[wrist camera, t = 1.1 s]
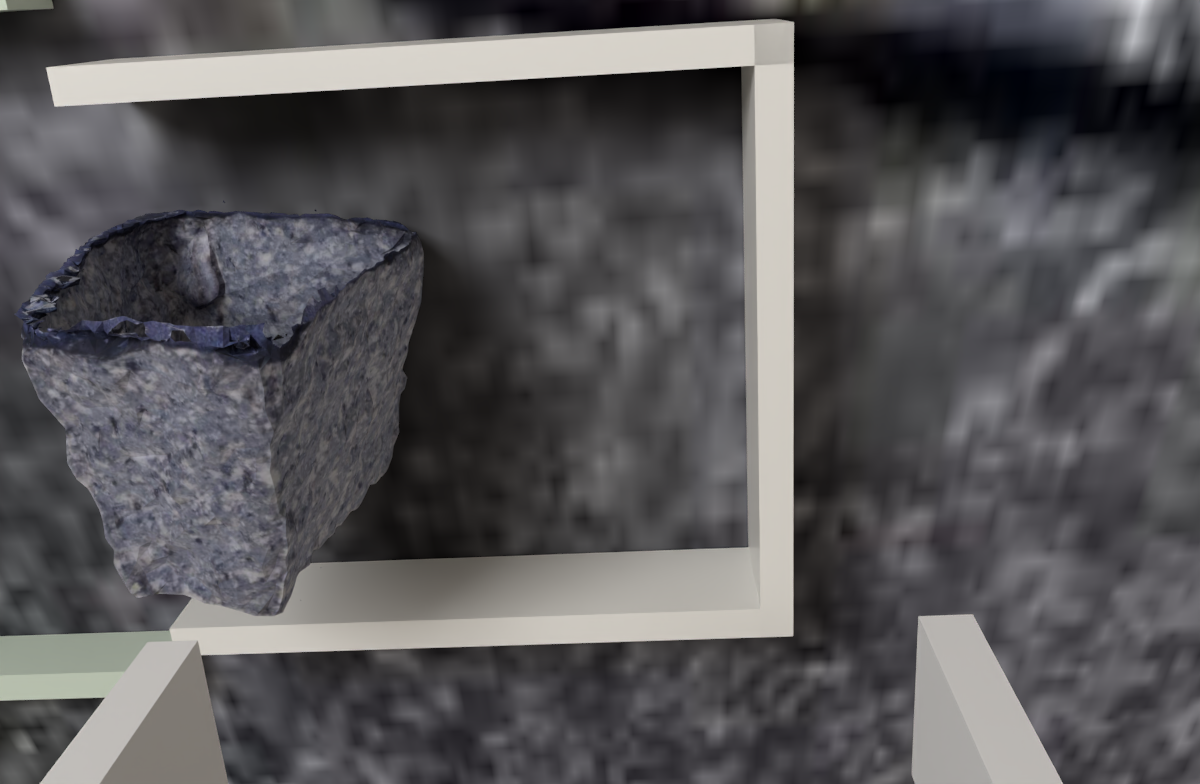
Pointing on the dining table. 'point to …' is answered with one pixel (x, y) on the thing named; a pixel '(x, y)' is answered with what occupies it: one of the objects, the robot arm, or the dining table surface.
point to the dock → (557, 581)
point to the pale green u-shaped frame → (65, 658)
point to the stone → (226, 388)
